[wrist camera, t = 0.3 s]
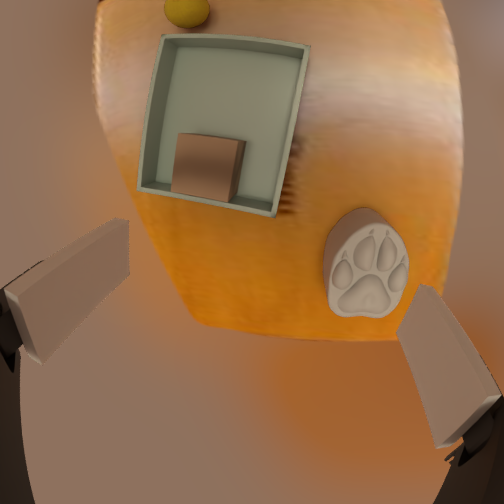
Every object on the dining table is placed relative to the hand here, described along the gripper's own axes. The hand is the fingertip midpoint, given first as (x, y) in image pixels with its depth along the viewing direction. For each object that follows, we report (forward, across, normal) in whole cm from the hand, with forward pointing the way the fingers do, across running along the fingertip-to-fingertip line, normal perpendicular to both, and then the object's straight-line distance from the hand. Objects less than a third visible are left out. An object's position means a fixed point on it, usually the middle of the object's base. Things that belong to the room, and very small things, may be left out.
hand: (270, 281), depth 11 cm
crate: (+27, -9, +7) cm, 29 cm away
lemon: (+27, -16, +22) cm, 39 cm away
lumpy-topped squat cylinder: (+27, +12, -7) cm, 31 cm away
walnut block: (+26, -10, +1) cm, 28 cm away
